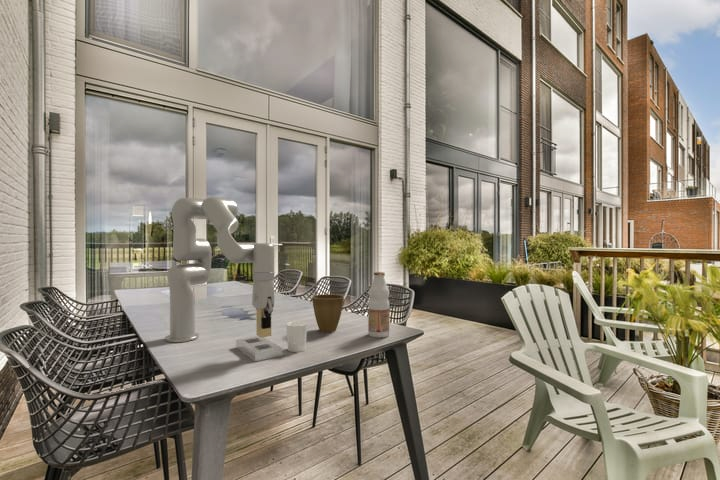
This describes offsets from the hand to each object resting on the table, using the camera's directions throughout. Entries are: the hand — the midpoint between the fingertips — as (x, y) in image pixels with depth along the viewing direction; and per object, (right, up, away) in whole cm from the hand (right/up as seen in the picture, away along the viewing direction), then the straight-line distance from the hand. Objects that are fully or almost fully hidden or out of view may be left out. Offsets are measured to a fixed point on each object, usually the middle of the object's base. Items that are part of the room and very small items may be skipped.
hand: (263, 326), depth 132 cm
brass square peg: (0, -3, 0) cm, 3 cm away
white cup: (+11, -11, +7) cm, 17 cm away
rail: (-3, -10, +4) cm, 12 cm away
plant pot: (+20, -11, +36) cm, 43 cm away
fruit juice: (+44, -11, +29) cm, 53 cm away
